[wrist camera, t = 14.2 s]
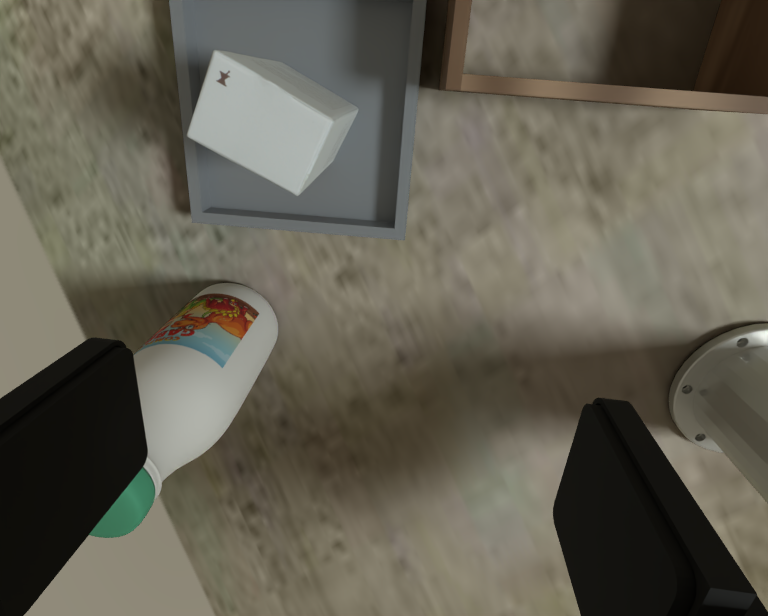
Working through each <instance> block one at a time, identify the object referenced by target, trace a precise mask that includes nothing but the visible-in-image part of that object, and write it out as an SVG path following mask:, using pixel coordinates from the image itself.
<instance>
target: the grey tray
mask: <svg viewBox="0 0 768 616" xmlns="http://www.w3.org/2000/svg"><path fill="white" fill-rule="evenodd" d="M426 2H427V0H169V5H170V15H171V25H172V34H173V44H174V54H175V63H176V73H177V82H178V92H179V102H180V111H181V121H182V131H183V140H184V150H185V160H186V169H187V179H188V189H189V198H190V208H191V218H192V223H204V224H216V225H228V226H240V227H251V228H263V229H275V230H287V231H299V232H311V233H323V234H335V235H347V236H359V237H371V238H383V239H395V240H405V232H406V222H407V211H408V200H409V189H410V178H411V167H412V156H413V145H414V134H415V123H416V112H417V101H418V90H419V79H420V68H421V57H422V46H423V35H424V24H425V13H426ZM214 50H220V51H227V52H232V53H236V54H242V55H247V56H251V57H257V58H262V59H268V60H273V61H278V62H282V63H284V64H286V65H287V66H289V67H291V68H292V69H294V70H296V71H297V72H299V73H301V74H302V75H304V76H306V77H307V78H309V79H311V80H313V81H314V82H316V83H318V84H319V85H321V86H323V87H324V88H326V89H328V90H329V91H331V92H333V93H334V94H336V95H338V96H339V97H341V98H343V99H344V100H346V101H348V102H349V103H351V104H353V105H354V106H356V107H357V108H358V112H357V115H356V117H355V119H354V121H353V123H352V125H351V127H350V129H349V131H348V133H347V135H346V137H345V139H344V140H343V142H342V144H341V146H340V148H339V150H338V152H337V154H336V156H335V158H334V160H333V162H332V163H331V164H330V165H329V166H328V167H327V168H326V169H325V170H324V171H323V172H322V173H321V174H320V175H319V176H318V177H317V178H316V179H315V180H314V181H313V182H312V183H311V184H310V185H309V186H308V187H307V188H306V189H305V190H304V191H303V192H302V193H301V194H300V195H298V196H296V195H294V194H292V193H291V192H289V191H287V190H285V189H283V188H282V187H280V186H278V185H276V184H274V183H272V182H270V181H268V180H267V179H265V178H263V177H261V176H259V175H257V174H255V173H253V172H252V171H250V170H248V169H246V168H244V167H242V166H240V165H238V164H236V163H234V162H232V161H230V160H228V159H227V158H225V157H223V156H221V155H219V154H217V153H216V152H214V151H212V150H210V149H208V148H207V147H205V146H203V145H201V144H199V143H197V142H196V141H194V140H192V139H190V138H188V136H187V132H188V129H189V126H190V123H191V120H192V117H193V114H194V110H195V107H196V104H197V101H198V98H199V95H200V92H201V88H202V85H203V82H204V79H205V76H206V72H207V69H208V66H209V63H210V59H211V56H212V53H213V51H214Z"/></svg>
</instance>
